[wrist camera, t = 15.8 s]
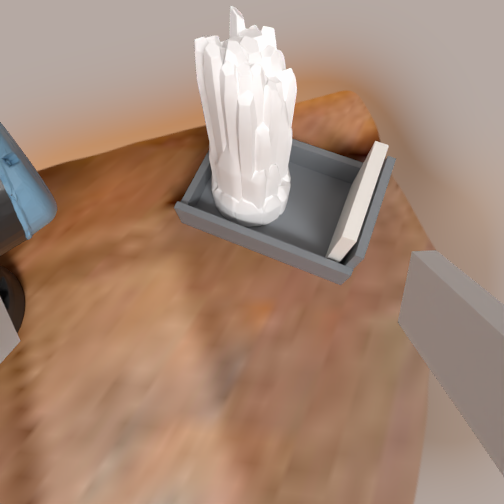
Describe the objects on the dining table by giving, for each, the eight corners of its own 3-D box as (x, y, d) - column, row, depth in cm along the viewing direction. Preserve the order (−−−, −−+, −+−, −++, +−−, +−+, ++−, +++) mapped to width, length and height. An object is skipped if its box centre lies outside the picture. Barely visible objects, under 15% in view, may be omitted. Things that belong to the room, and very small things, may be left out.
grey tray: (181, 222, 47) (166, 192, 39) (227, 137, 52) (221, 94, 43) (340, 285, 44) (361, 266, 35) (373, 188, 49) (398, 152, 40)
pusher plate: (322, 263, 44) (341, 236, 34) (351, 185, 47) (375, 141, 38) (338, 269, 43) (361, 243, 34) (365, 190, 47) (393, 147, 38)
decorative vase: (275, 155, 50) (295, -35, 26) (297, 216, 46) (344, 62, 23) (206, 172, 49) (161, -9, 25) (224, 236, 45) (191, 97, 22)
